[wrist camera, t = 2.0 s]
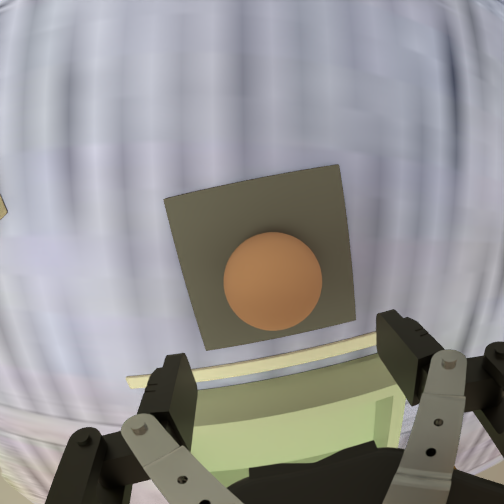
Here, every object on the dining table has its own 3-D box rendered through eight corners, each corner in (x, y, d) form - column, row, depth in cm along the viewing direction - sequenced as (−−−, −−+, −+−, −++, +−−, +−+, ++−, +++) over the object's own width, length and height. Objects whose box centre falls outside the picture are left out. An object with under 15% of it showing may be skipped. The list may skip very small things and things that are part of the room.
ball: (303, 215, 22) (327, 237, 16) (315, 294, 23) (338, 337, 18) (216, 232, 22) (209, 261, 16) (235, 311, 24) (235, 358, 18)
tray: (387, 350, 26) (408, 380, 22) (380, 439, 30) (393, 467, 26) (145, 395, 26) (134, 429, 22) (190, 474, 30) (187, 504, 26)
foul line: (397, 324, 25) (399, 326, 25) (397, 336, 26) (398, 338, 25) (126, 376, 26) (125, 378, 25) (131, 386, 26) (130, 388, 26)
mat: (337, 164, 21) (338, 164, 21) (354, 317, 25) (355, 320, 24) (164, 198, 21) (163, 199, 21) (206, 347, 25) (206, 350, 24)
